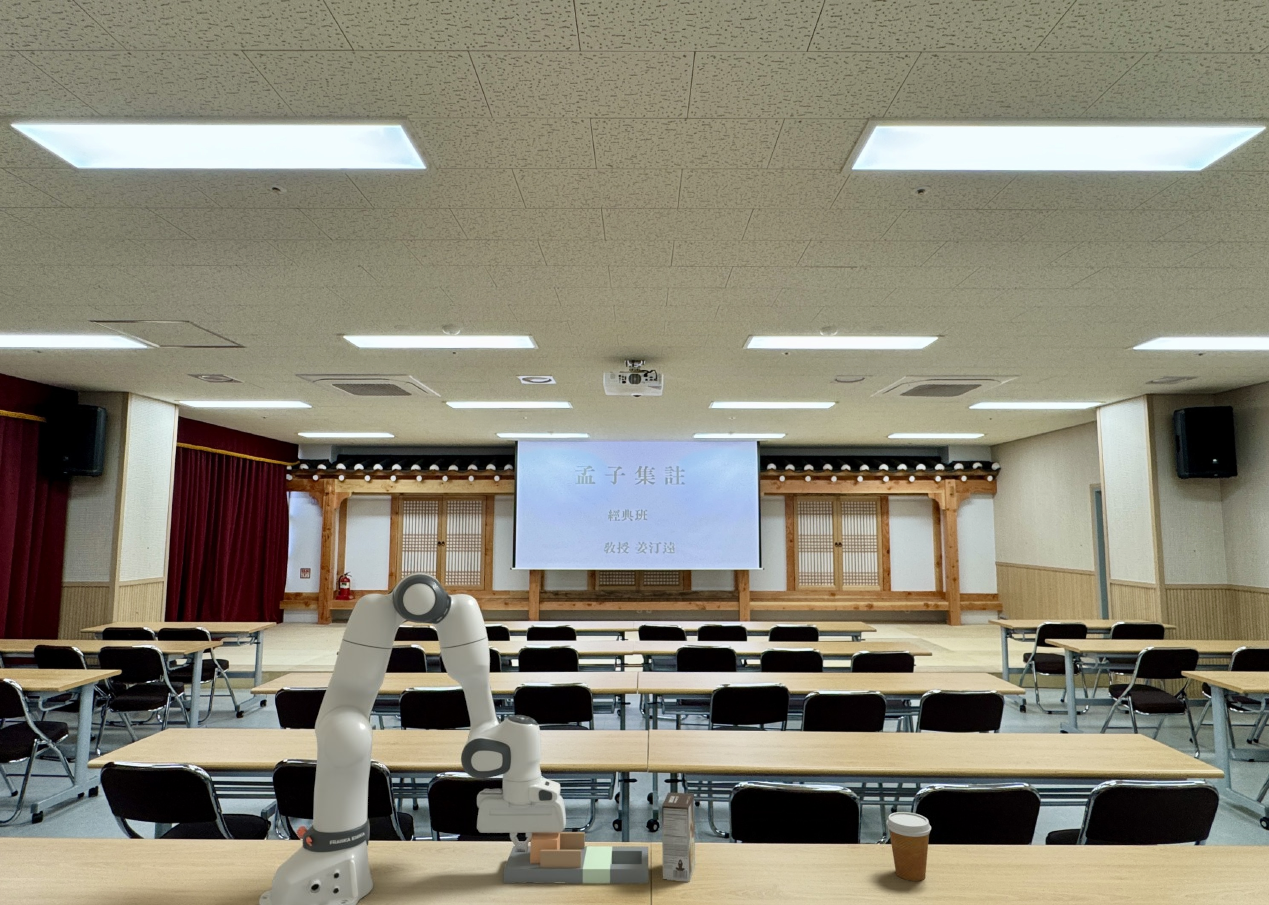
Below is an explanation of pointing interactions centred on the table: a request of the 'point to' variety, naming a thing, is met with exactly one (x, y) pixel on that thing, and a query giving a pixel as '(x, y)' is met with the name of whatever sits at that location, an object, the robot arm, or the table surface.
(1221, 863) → the table surface
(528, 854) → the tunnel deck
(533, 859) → the block
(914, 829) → the disposable coffee cup
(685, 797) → the coffee box
